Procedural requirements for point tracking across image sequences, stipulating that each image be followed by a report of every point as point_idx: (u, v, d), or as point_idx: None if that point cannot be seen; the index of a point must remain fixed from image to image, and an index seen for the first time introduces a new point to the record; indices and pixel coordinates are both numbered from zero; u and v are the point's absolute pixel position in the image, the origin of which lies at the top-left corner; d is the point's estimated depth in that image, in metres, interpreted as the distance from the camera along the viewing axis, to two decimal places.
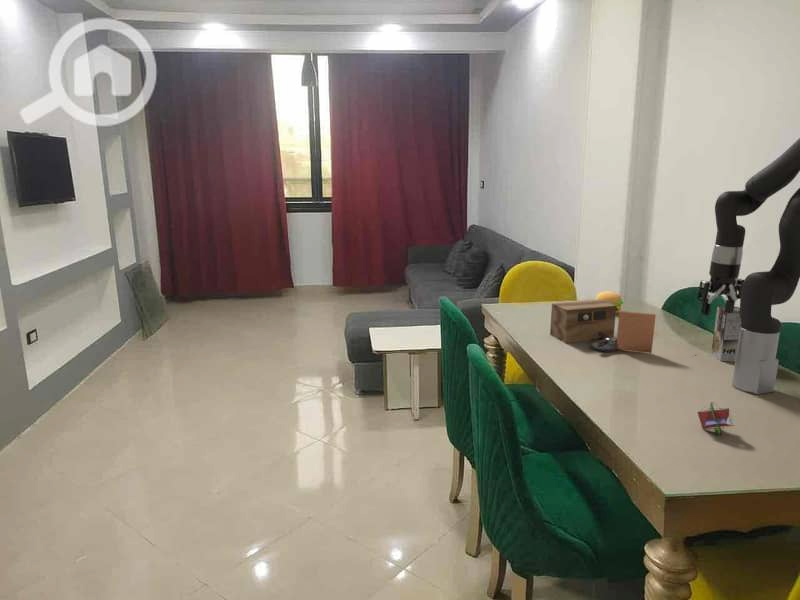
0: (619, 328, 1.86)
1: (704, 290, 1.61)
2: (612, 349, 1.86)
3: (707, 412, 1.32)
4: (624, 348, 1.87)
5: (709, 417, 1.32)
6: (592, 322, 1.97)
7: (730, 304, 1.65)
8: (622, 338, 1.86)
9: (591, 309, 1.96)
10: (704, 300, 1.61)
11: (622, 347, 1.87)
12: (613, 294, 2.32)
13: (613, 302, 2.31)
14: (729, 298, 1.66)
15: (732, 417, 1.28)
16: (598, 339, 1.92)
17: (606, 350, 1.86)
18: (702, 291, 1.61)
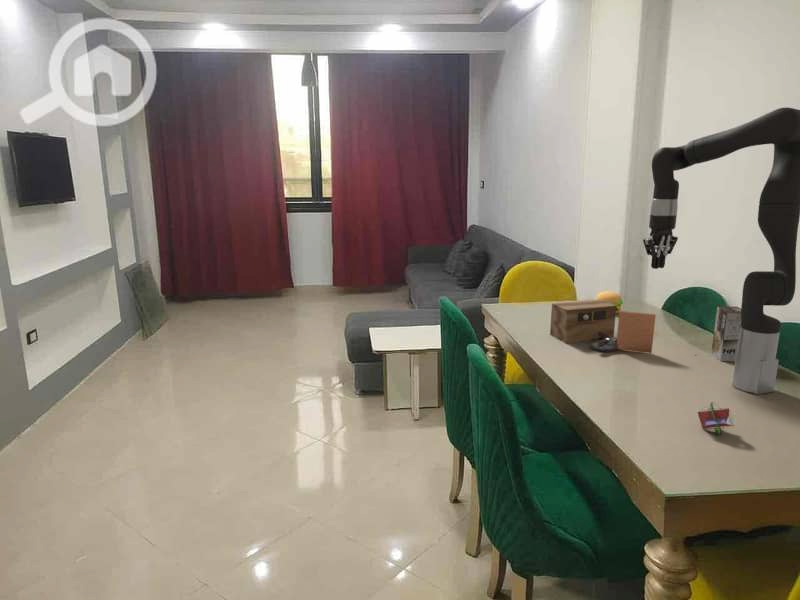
0: (619, 328, 1.86)
1: None
2: (612, 349, 1.86)
3: (707, 412, 1.32)
4: (624, 348, 1.87)
5: (709, 417, 1.32)
6: (592, 322, 1.97)
7: None
8: (622, 338, 1.86)
9: (591, 309, 1.96)
10: None
11: (622, 347, 1.87)
12: (613, 294, 2.32)
13: (613, 302, 2.31)
14: None
15: (732, 417, 1.28)
16: (598, 339, 1.92)
17: (606, 350, 1.86)
18: None
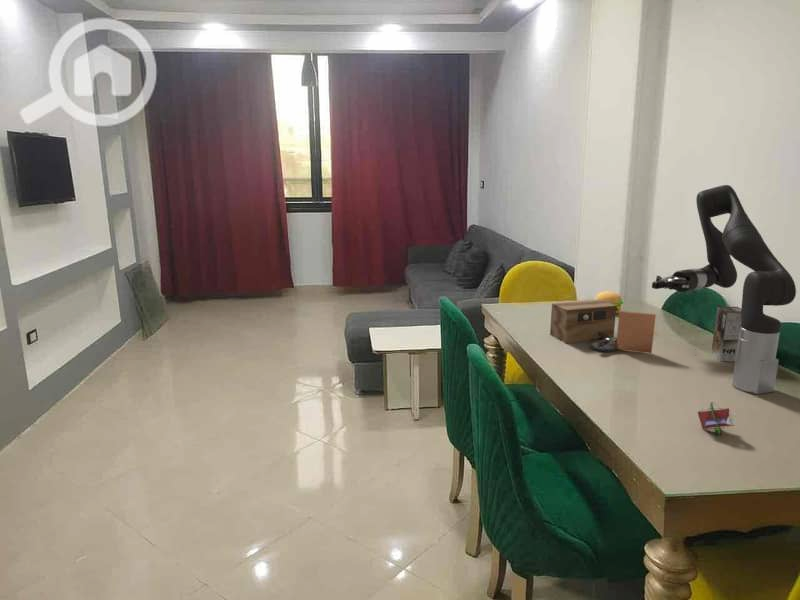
0: (619, 328, 1.86)
1: (680, 288, 1.83)
2: (612, 349, 1.86)
3: (707, 412, 1.32)
4: (624, 348, 1.87)
5: (709, 417, 1.32)
6: (592, 322, 1.97)
7: None
8: (622, 338, 1.86)
9: (591, 309, 1.96)
10: (670, 289, 1.84)
11: (622, 347, 1.87)
12: (613, 294, 2.32)
13: (613, 302, 2.31)
14: None
15: (732, 417, 1.28)
16: (598, 339, 1.92)
17: (606, 350, 1.86)
18: (679, 287, 1.83)
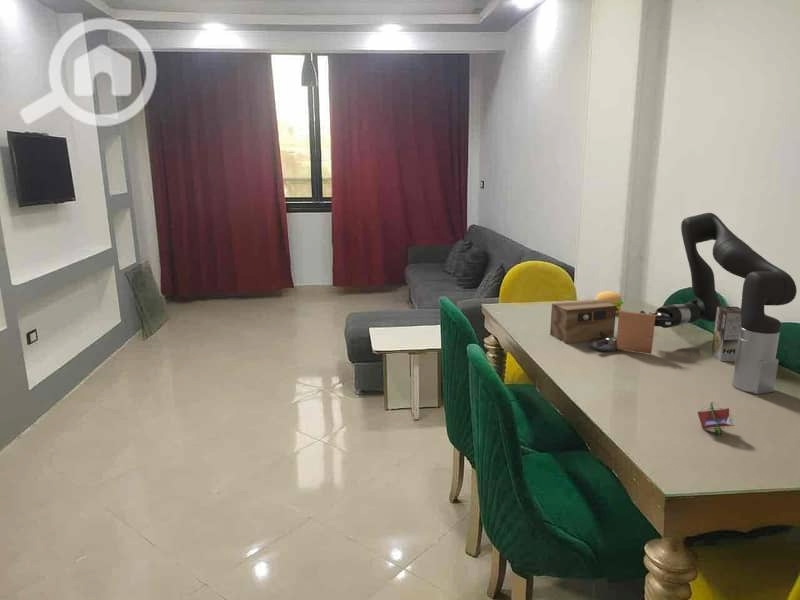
0: (619, 328, 1.86)
1: (663, 325, 1.84)
2: (611, 349, 1.86)
3: (707, 412, 1.32)
4: (624, 348, 1.87)
5: (709, 417, 1.32)
6: (592, 322, 1.97)
7: None
8: (622, 338, 1.86)
9: (591, 309, 1.96)
10: None
11: (622, 347, 1.87)
12: (613, 294, 2.32)
13: (613, 302, 2.31)
14: None
15: (732, 417, 1.28)
16: (598, 339, 1.92)
17: (605, 350, 1.86)
18: (661, 323, 1.83)
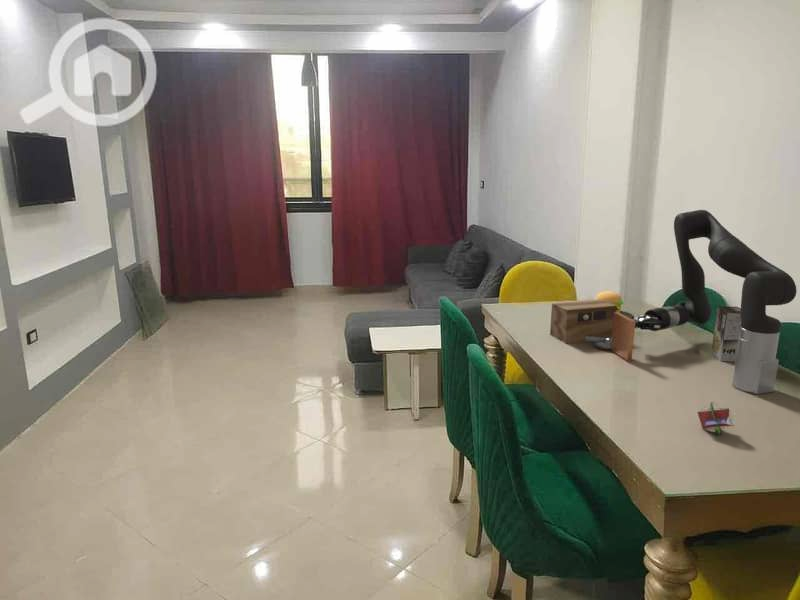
0: (613, 329, 1.85)
1: (652, 328, 1.80)
2: (601, 347, 1.88)
3: (707, 412, 1.32)
4: (614, 350, 1.85)
5: (709, 417, 1.32)
6: (592, 322, 1.97)
7: None
8: (614, 340, 1.85)
9: (591, 309, 1.96)
10: (642, 329, 1.81)
11: (613, 349, 1.85)
12: (613, 294, 2.32)
13: (613, 302, 2.31)
14: None
15: (732, 417, 1.28)
16: None
17: (596, 346, 1.90)
18: (650, 327, 1.80)
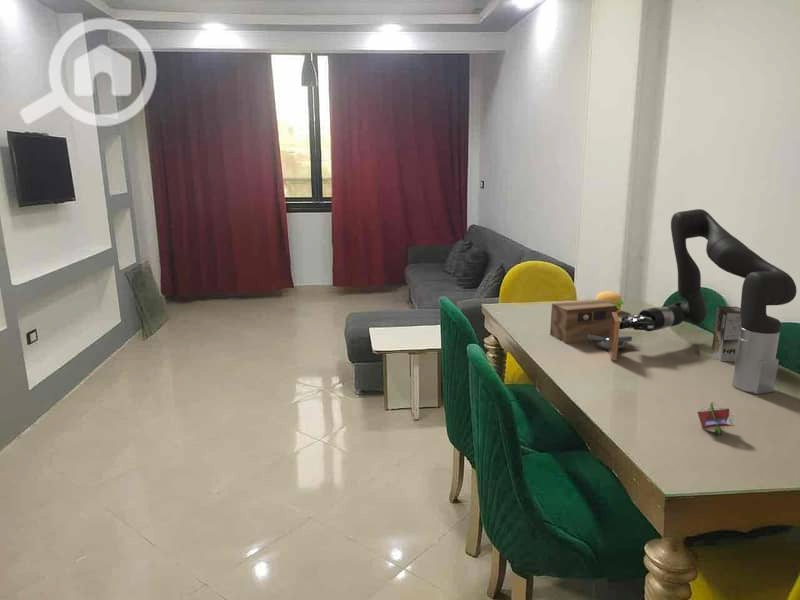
0: (610, 328, 1.86)
1: (645, 329, 1.79)
2: (599, 346, 1.89)
3: (707, 412, 1.32)
4: None
5: (709, 417, 1.32)
6: (592, 322, 1.97)
7: None
8: (609, 339, 1.85)
9: (591, 309, 1.96)
10: (635, 329, 1.81)
11: (608, 348, 1.86)
12: (613, 294, 2.32)
13: (613, 302, 2.31)
14: None
15: (732, 417, 1.28)
16: None
17: (596, 345, 1.91)
18: (644, 327, 1.79)
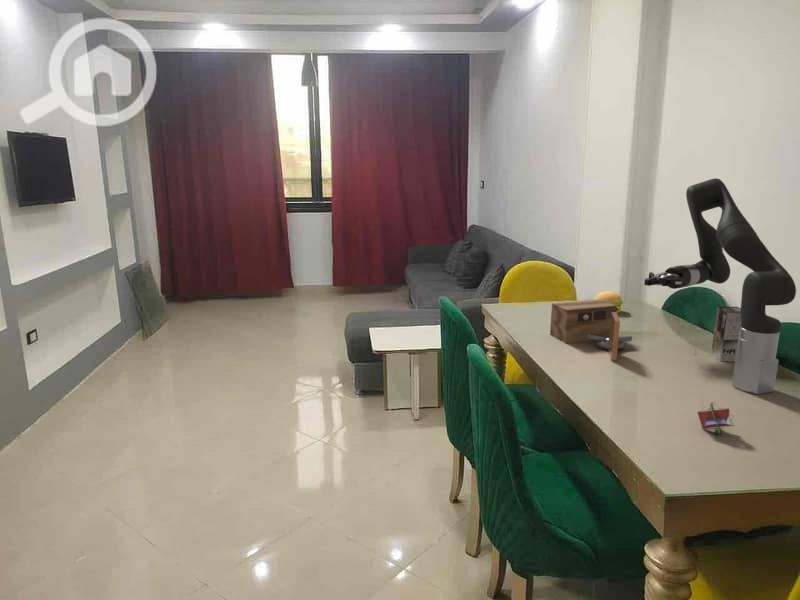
0: (610, 328, 1.86)
1: (673, 285, 1.80)
2: (599, 346, 1.89)
3: (707, 412, 1.32)
4: None
5: (709, 417, 1.32)
6: (592, 322, 1.97)
7: None
8: (609, 339, 1.85)
9: (591, 309, 1.96)
10: (663, 285, 1.82)
11: (608, 348, 1.86)
12: (613, 294, 2.32)
13: (613, 302, 2.31)
14: None
15: (732, 417, 1.28)
16: None
17: (596, 345, 1.91)
18: (672, 283, 1.80)
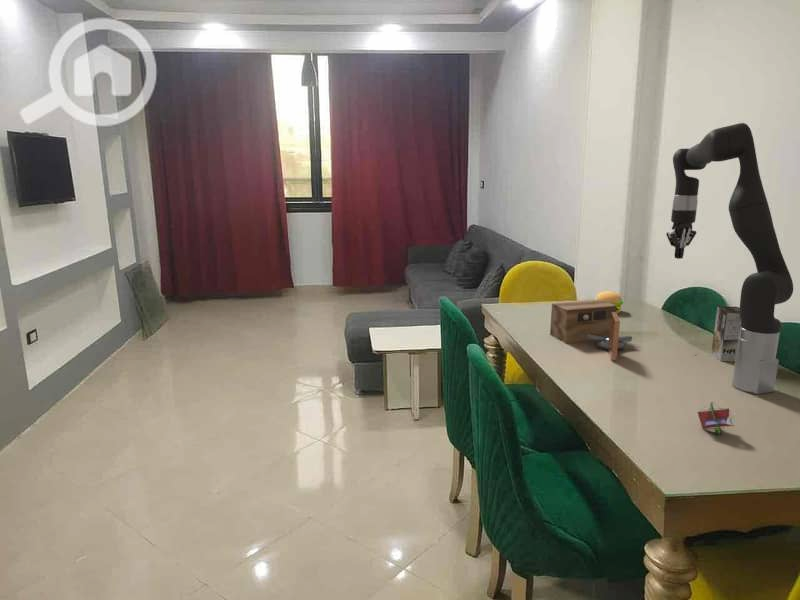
0: (610, 328, 1.86)
1: None
2: (599, 346, 1.89)
3: (707, 412, 1.32)
4: None
5: (709, 417, 1.32)
6: (592, 322, 1.97)
7: None
8: (609, 339, 1.85)
9: (591, 309, 1.96)
10: None
11: (608, 348, 1.86)
12: (613, 294, 2.32)
13: (613, 302, 2.31)
14: None
15: (732, 417, 1.28)
16: None
17: (596, 345, 1.91)
18: None
